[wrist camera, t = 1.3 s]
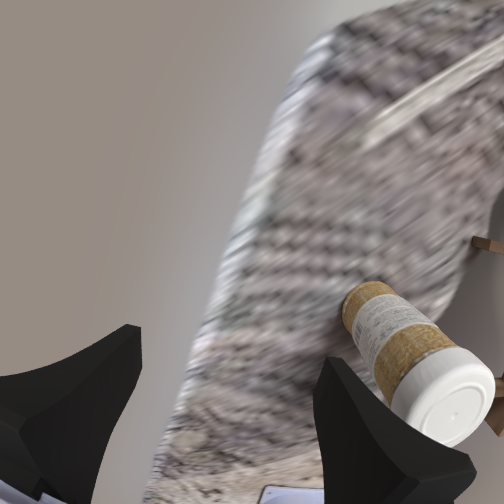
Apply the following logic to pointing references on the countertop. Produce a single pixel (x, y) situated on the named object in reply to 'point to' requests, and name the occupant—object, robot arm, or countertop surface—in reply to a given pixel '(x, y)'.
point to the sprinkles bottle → (418, 365)
